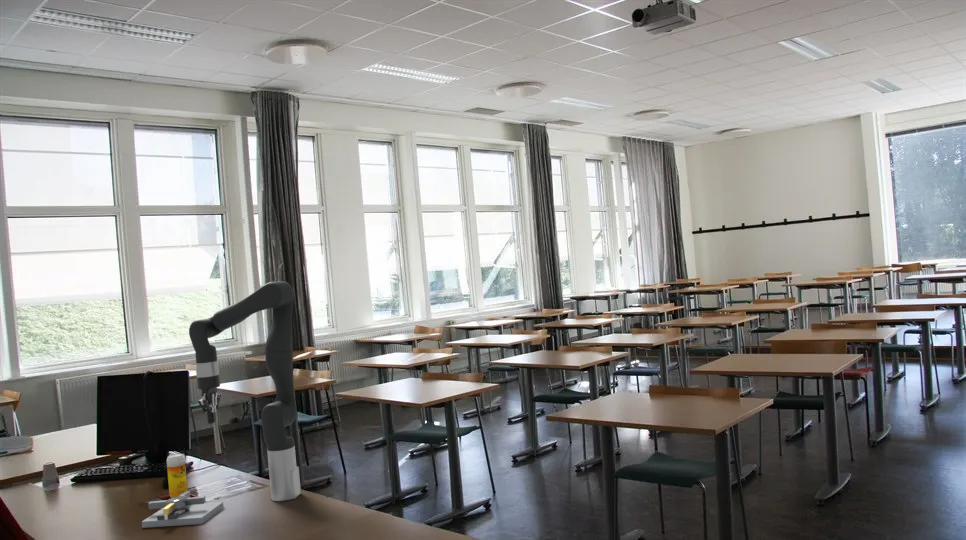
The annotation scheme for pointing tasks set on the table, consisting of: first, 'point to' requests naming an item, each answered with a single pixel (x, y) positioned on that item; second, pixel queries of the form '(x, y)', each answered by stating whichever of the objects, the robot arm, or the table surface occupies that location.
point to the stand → (184, 516)
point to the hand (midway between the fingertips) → (212, 423)
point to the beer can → (176, 475)
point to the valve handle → (177, 504)
